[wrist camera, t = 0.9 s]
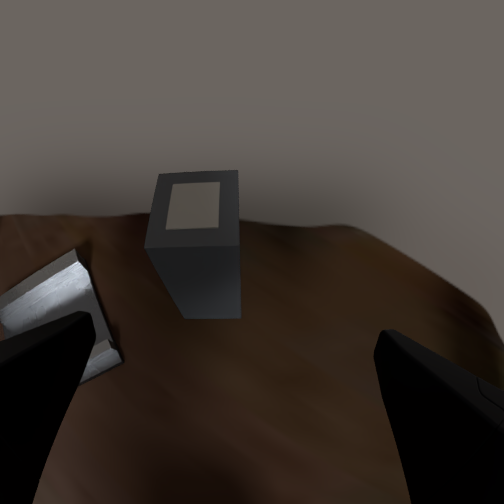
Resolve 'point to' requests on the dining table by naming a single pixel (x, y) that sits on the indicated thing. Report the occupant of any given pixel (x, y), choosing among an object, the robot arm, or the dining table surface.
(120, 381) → the dining table surface
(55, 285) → the din rail
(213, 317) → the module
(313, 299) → the dining table surface
